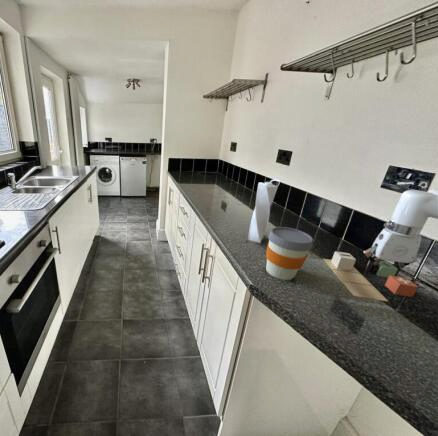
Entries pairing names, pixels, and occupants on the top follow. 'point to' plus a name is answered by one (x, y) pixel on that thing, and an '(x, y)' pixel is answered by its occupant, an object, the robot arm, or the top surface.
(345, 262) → the white cube
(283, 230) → the reusable coffee cup
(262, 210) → the twisted white column
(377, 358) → the top surface
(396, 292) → the orange red cube
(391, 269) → the green cube
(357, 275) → the word mat
